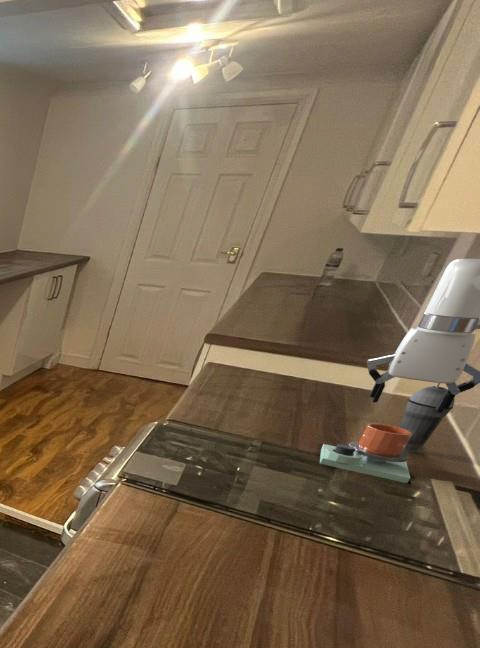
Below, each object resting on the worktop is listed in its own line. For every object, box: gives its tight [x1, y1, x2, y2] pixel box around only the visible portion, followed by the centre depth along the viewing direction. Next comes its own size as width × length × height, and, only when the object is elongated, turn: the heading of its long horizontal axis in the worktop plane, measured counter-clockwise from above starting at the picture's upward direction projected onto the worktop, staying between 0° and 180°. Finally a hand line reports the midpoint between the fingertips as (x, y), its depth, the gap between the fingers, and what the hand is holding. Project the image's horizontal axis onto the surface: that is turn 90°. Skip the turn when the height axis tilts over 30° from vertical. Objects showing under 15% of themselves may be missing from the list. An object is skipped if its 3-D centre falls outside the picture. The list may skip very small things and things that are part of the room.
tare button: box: [334, 443, 356, 456], centre depth 128 cm, size 3×3×2 cm
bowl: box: [357, 422, 412, 455], centre depth 127 cm, size 7×7×5 cm
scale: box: [319, 443, 411, 484], centre depth 129 cm, size 14×12×3 cm
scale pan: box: [348, 441, 410, 464], centre depth 129 cm, size 10×10×4 cm
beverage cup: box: [398, 383, 455, 454], centre depth 135 cm, size 7×7×20 cm
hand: (405, 406), depth 123 cm, fingers open, 9 cm apart
